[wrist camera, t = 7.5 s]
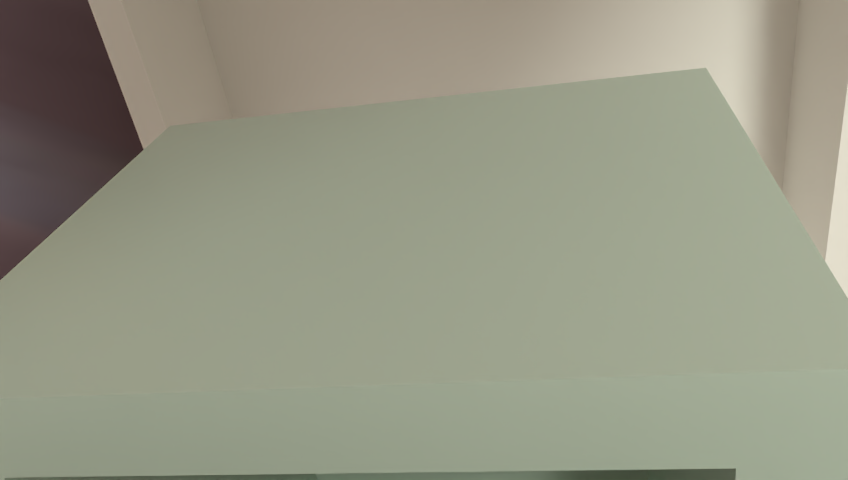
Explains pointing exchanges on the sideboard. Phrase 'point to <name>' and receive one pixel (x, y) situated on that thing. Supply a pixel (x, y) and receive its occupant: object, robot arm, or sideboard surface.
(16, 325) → the small crate
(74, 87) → the sideboard surface
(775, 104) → the big crate
